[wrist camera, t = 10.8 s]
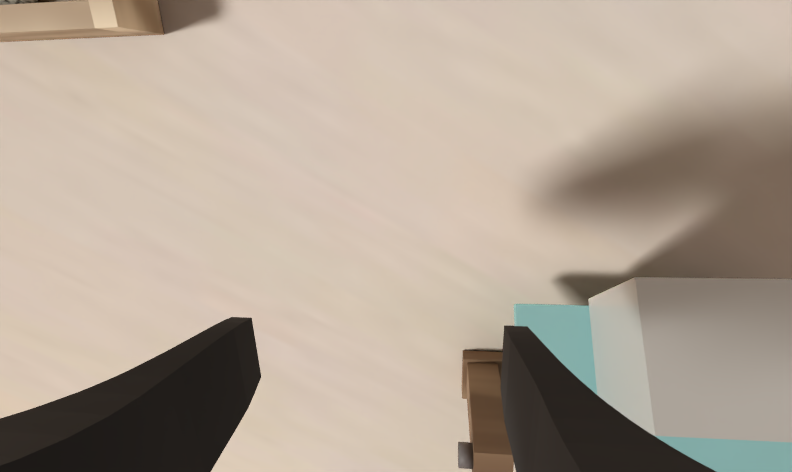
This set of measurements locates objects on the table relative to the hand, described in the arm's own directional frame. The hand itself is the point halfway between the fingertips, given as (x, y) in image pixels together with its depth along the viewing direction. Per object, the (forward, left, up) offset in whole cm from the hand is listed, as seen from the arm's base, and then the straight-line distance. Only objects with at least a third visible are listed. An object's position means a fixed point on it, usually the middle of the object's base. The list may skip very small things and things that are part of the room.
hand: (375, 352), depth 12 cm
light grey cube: (-3, -11, -5) cm, 12 cm away
